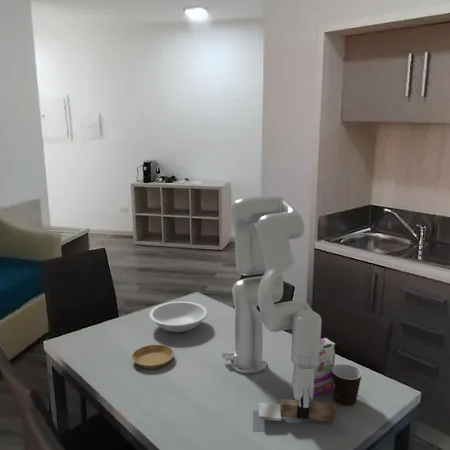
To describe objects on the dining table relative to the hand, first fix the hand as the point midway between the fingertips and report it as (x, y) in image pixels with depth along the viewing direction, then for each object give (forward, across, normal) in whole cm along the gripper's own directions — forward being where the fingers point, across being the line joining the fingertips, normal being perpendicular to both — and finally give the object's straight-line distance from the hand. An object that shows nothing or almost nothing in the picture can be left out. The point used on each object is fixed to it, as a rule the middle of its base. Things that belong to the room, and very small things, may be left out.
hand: (302, 414), depth 127 cm
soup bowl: (+4, -58, -44) cm, 73 cm away
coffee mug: (+3, -12, +15) cm, 20 cm away
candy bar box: (+3, -16, +6) cm, 17 cm away
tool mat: (+3, 0, -1) cm, 3 cm away
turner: (0, 0, -2) cm, 2 cm away
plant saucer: (+4, -32, -49) cm, 59 cm away
